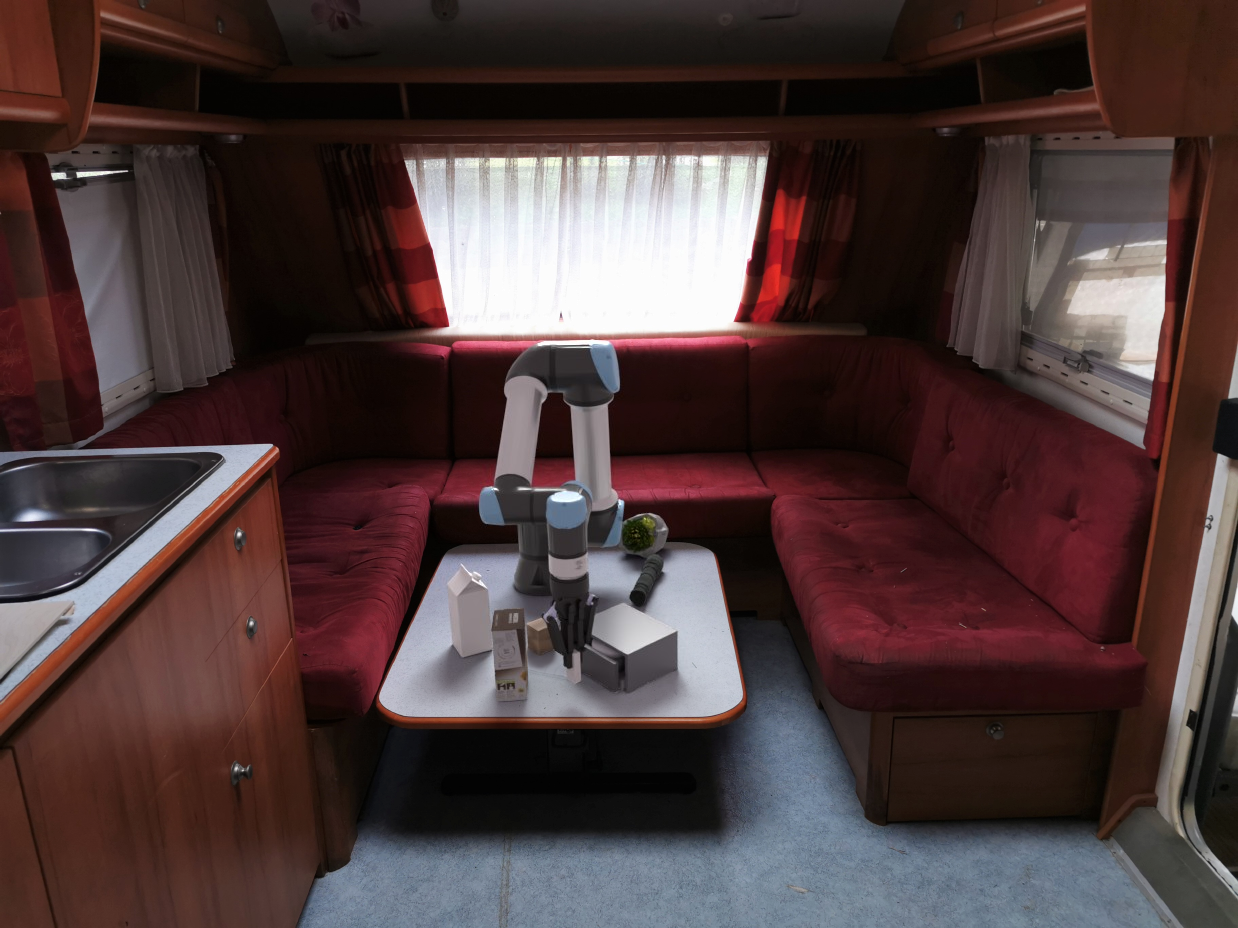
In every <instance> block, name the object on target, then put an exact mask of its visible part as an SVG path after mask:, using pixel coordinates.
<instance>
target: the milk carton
mask: <svg viewBox="0 0 1238 928" xmlns="http://www.w3.org/2000/svg"><path fill="white" fill-rule="evenodd" d="M482 578H483V577H482V575H481V574H480V573H479V572H476V571H473V572H469V571H468V570H467V569H466V567H465V566H464V565H463V564H462V563H460V568H459V570H458V571H456V572H455V574H453V576H452V578H451V579H449V581H448V582H447V583H446V589H447V599H448V611H449V619H450V620H449V621H450V632H451V643H452V645H453V647H454V648H455V650H456V651H457V653H458V654H459V655H460V657H461V658H466V657H470V656H474V655H477V654H481V653H484V652H488V651H493V642H492V631H491V628H492V621H491V610H490V598H489V597H490V596H489V589H488V587H487V586H486V585H485V584H484V583H483V582H482V580H481V579H482Z"/></svg>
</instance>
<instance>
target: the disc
mask: <svg viewBox="0 0 1238 928" xmlns="http://www.w3.org/2000/svg"><path fill="white" fill-rule="evenodd" d="M592 647H593V648H594V649H596V650H598V651H600V652H601V653H603V654H605V655H606V656H608V657H610V658H611V659H616V658H620V657H623V655H621V654H619V653H618V652H616V651H614V650H612V649H611V648H609V647H607V646H605V645H604V644H602V643H600V642H598V641H597V640H595V639H593V640H592Z"/></svg>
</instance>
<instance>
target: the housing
mask: <svg viewBox="0 0 1238 928" xmlns="http://www.w3.org/2000/svg"><path fill="white" fill-rule="evenodd" d="M678 633H679V631H678V630H677V629H675V628H673V627H671V626H669V625H667V624H666V623H663V622H661V621H660V620H657V619H656V618H653V616H650V615H648V614H646V613H644V612H642V611H640V610H638V609H637V608H634V607H633V606H631V605H629V604H626V603H625V602H622V603H619V604H617V605H615V606H612V607H610V608H608V609H605V610H602V611H600V612H599V613H598V612H597V613H595V617H594V623H593V629H592V636H591V642H590V643H589V644H588V645H589V646H591V647H592V640H593V639H595V640H597V641H598V642H600V643H602V644H604V645H605V646H607V647H609V648H611V649H612V650H614V651H616V652H618V653H619V654H621V655H623V656H624V657H625V689H623V690H622V689H620V690H621V691H622V692H624V693H626V694H629V695H630V694H631V693H632V692H634V691H636V690H639V689H641V688H642V687H644V686H647V685H648V684H650V683H652V682H654V681H656V680H658V679H660V678H662V677H665V675H668V674H670V673H672V672H674V671H675V670H677V669H678V668H679V666H678V663H679V661H678V655H679V653H678V649H679V648H678V645H679V643H678V640H679V639H678V638H679V637H678V636H679V635H678Z"/></svg>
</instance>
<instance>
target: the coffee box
mask: <svg viewBox="0 0 1238 928" xmlns="http://www.w3.org/2000/svg"><path fill="white" fill-rule="evenodd" d="M525 616H526V615H525V608H524V607H520V608H519V607H516V608H514V607H513V608H503V609H494V610H493V615H492V621H491V633H492V646H493V649H492V656H493V668H494V669H493V670H494V681H495V695H496V702H511V701H512V702H513V701H525V700H527V699H528V690H529V689H528V688H529V687H528V686H529V685H528V684H529V666H528V652H527V651H528V650H527V649H528V647H527V630H526V619H525Z"/></svg>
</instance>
